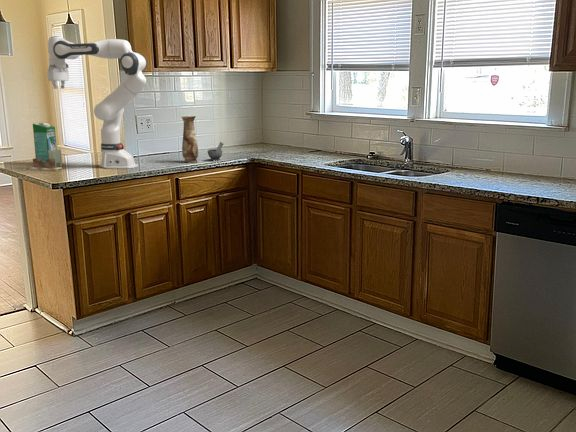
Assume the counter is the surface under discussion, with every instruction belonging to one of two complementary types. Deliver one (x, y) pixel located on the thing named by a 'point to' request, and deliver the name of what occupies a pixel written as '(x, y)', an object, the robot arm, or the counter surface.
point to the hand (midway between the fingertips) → (59, 88)
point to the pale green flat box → (56, 156)
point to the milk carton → (44, 140)
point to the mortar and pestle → (216, 152)
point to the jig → (44, 165)
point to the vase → (189, 139)
